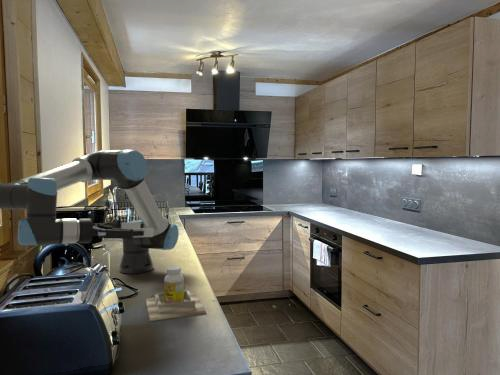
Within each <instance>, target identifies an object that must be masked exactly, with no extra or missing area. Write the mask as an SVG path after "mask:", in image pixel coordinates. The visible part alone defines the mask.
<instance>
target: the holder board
mask: <svg viewBox="0 0 500 375" xmlns="http://www.w3.org/2000/svg"><path fill="white" fill-rule="evenodd" d="M145 304H146V308H147V313H148V320H149V321H150V322H152V321H158V320H159V321H161V320H167V319H173V318H175V319H176V318H181V317H188V316H195V315H196V316H197V315H203V314H207V311H206V310H207V309H205V306H204V305H203V304H202V302H201V300H200V299H199V297H198V295H197V294H196V293H195V292H194V293H193V292H192V293H191V292H190V289H187V290H186V289H184V301H183V302H175V303H167V304H165V300H164V292H160V293H155V294H154V297H151V298H145Z"/></svg>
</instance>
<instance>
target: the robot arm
mask: <svg viewBox="0 0 500 375" xmlns="http://www.w3.org/2000/svg"><path fill="white" fill-rule="evenodd" d="M147 165H148V164H147V161H146V158H145V156H144V155H143V154H142V153H141V152H140V151H138V150H135V149H128V148H126V149H109V150H107V149H102V150H101V149H100V150H95V151H94V152H90V153H88V154H87V153H86V154H85V155H82V156H79V157H76V158H74V159H73V160H72V161H71V162H70V163H67V164H64V165H63V164H62V165H61V166H58V167H54V168H51V169H48V170H45V171H42V172H40V173H36V174H33V175H30V176H27V177H24V178H21V179H18V180H15V181H11V182H8V183H0V210H22V211H23V210H24V211H26V218H22V219H19V220H18V222H17V223H18V226H17V242H18V244H19V245H21V246H51V245H62V244H63V245H64V246H65V247H66V246H68V245H69V244H71V245H72V244H76V243H78V244H90V243H91V242H92V241H93V237H94V236H95V237H97V238H98V239H122V255H121V256H122V257H121V261H120V263H119V272H120V273H122V274H141V273H146V272H150V271H152V270H153V269H154V263H153V259H152V257H151V253H150V250H151V249H153V250H162V251H163V250H164V251H167V250H168V251H170V250H173V249H174V248H175V247H176V245H177V243H178V240H179V235H180V234H179V227H178V225H177V224H175V223H170V221H169V219H168V218H167V217H166V216H163V215H162V212H161V211H160V209H159V207H158V205H157V203H156V201H155V199H154V197H153V195H152V193H151V191H150V189H149V187H148V185H147V183H146V181H145V179H146V176H147V172H148V167H147ZM97 180H98V181H99V180H100V181H101V180H103V181H114V182H115V185H116V186H117V187H118V189H120V190H122V191H124V192H125V194H126V195H127V197H128V199H129V201H130V203H131V204H132V206H133V208H134V209H135V211H136V213H137V215H138V217H139V219H138V220H132V221H126V222H123V221H121V220H120V219H117V220H116V221H110V222H98V223H93V222H94V221H93V220H92V219H91V218H89V217H88V218H79V219H77V218H57V201H58V191H60V190H63V189H65V188H68V187H70V186H72V185H75V184H78V183H88V182H90V181H97Z"/></svg>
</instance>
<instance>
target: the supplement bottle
mask: <svg viewBox="0 0 500 375" xmlns="http://www.w3.org/2000/svg"><path fill="white" fill-rule="evenodd" d="M181 272H182V268H181V266H179V265H178V266H177V265H175V266H174V265H173V266H168V267H167V268H166V273H167V274H166V275H165V277H164V278H163V279H164V280H163V281H164V282H163V285H164V286H163V287H164V292H163V293H164V300H165V304H167V303H175V302H183V301H184V290H185V280H184V279H185V278H184V275H183V274H182V273H181Z"/></svg>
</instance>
